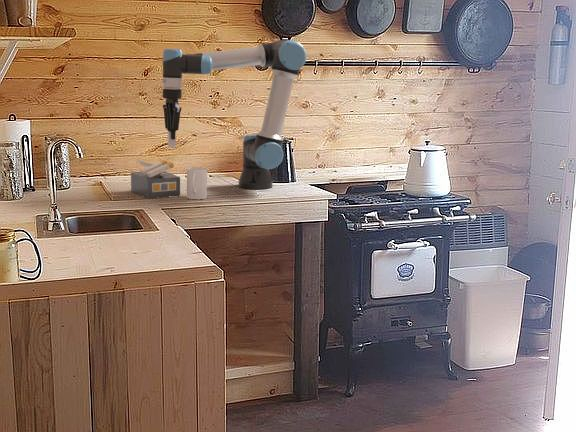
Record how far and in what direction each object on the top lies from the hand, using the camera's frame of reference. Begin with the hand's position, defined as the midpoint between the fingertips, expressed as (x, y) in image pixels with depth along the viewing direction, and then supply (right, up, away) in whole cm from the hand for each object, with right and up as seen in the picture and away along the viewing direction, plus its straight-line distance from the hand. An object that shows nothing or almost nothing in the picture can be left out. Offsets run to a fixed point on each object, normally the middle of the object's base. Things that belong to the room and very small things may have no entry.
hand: (171, 147), depth 309 cm
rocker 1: (-11, -8, +9) cm, 16 cm away
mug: (+10, -21, 0) cm, 23 cm away
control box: (-8, -19, +7) cm, 21 cm away
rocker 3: (-4, -10, 0) cm, 11 cm away
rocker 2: (-7, -9, +4) cm, 12 cm away
